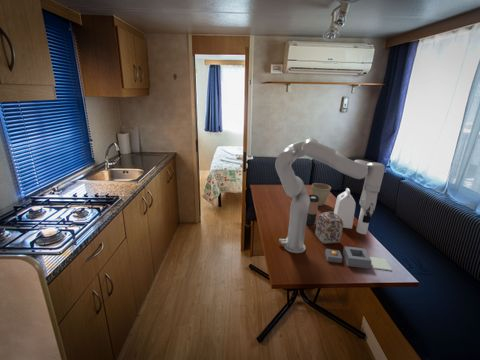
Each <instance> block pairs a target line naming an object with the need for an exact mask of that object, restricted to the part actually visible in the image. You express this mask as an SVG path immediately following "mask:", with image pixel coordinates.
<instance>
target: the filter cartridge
mask: <svg viewBox="0 0 480 360" xmlns="http://www.w3.org/2000/svg"><path fill="white" fill-rule="evenodd" d="M368 210H369V209H368ZM368 212H369V211H367V213H368ZM364 215H365V210H364V209H363V208H362V207H361V206H360V212H359V217H358V220H357V221H358V222H357V226H356V228H355V229H356V230H355V231H356V232H357V233H359V235H360V234H361V235H367V233H368V230H369V224H370V222H369V223H363V217H364Z"/></svg>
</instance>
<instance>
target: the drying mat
mask: <svg viewBox="0 0 480 360" xmlns="http://www.w3.org/2000/svg"><path fill="white" fill-rule="evenodd" d="M369 257H370V259H371V266H372V268H373V269H376V270H383V271H390V272H392V271H393V269H392V267H391V266H390V264H389V263H388V261H387V259H386V258H383V257H376V256H375V257H373V256H369Z"/></svg>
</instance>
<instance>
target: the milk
mask: <svg viewBox="0 0 480 360" xmlns="http://www.w3.org/2000/svg"><path fill="white" fill-rule="evenodd" d="M356 206H357V205H356V201H355V199H354V198H353V195H352V194H351V190H350V188H348V187H346V188H345V191H343V192H341V193H339V194H338V195H337V197H336V201H335V206H334V209H333V212H334V213H335V214H337V215H339V216H340V217H341V219H342V221H343V228H345V229H353V225H354V217H355V213H356Z"/></svg>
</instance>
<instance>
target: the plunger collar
mask: <svg viewBox="0 0 480 360" xmlns="http://www.w3.org/2000/svg"><path fill="white" fill-rule="evenodd" d="M331 251H336V252H337V256H336V255H331ZM324 254H325V258H326V261H327V262H331V263H337V264H339V263H340V264H342V263H343V258H344V257H343V254H342V253H341V250H338V249H331V248H325V252H324Z"/></svg>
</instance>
